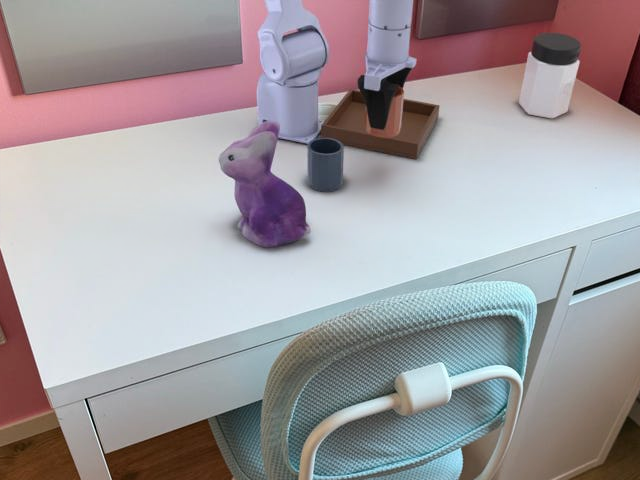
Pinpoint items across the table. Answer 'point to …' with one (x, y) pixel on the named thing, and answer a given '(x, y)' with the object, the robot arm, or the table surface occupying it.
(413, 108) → the tray
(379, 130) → the orange cup
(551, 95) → the jar
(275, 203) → the figurine
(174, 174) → the table surface
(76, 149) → the table surface
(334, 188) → the blue cup
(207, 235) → the table surface
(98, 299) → the table surface
